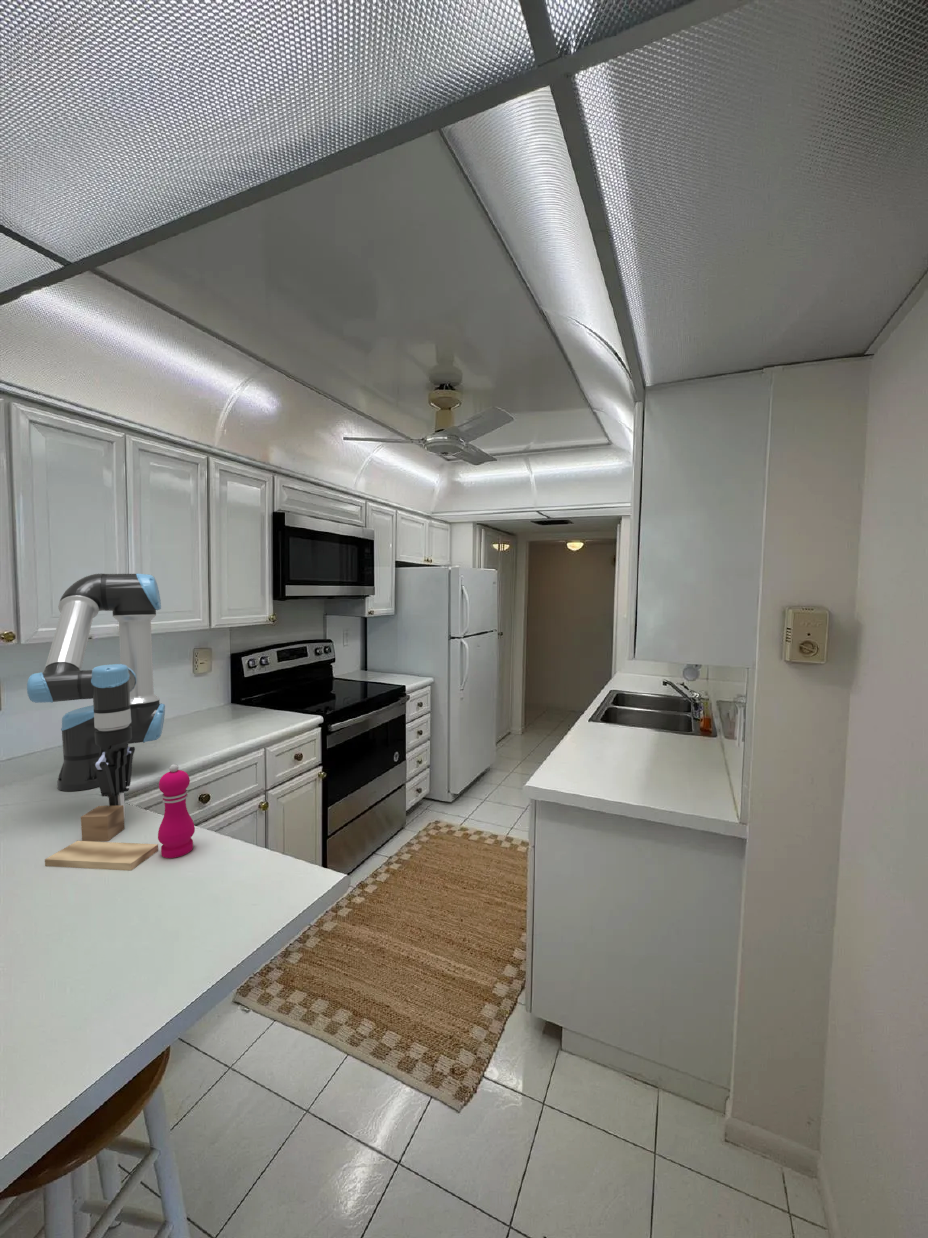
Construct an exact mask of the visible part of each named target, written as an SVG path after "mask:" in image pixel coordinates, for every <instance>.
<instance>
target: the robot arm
mask: <svg viewBox="0 0 928 1238" xmlns="http://www.w3.org/2000/svg"><path fill="white" fill-rule="evenodd" d="M161 600H162V599H161V594H160V590H159V585H158V583H157V579H156V578H155V576H153V575H152V574H146V573H95V574H94V573H93V574H90V575H89V574H88V575H86V576H84V577H81V578H80V579H78V580H76V581H75V582H74V583H72V584H71V585H70V586H69V587H68V588H67V589H66V590H65V591H64V592H63V594H62V595H61V597H60V600H59V602H58V611H59V612H60V615H59V617H58V621H57V626H56V628H55V632H54V635H53V639H52V642H51V645H50V648H49V649H50V650H49V651H48V652H49V653H48V656H47V659H46V662H45V665H44V668H43V672H42V671H41V672H36V673H31V674H30V676H29V677H28V679H27V683H26V691H27V696H28V699H29V700H30V702H32V703H35V704H36V703H38V704H41V703H42V704H43V703H45V704H46V703H50V704H51V703H55V702H56V703H57V702H65V701H66V702H68V701H77V700H78V701H79V700H91V699H92V704H93V705H89V706H88V705H87V706H83V707H80V708H77V709H73V710H70V711H68V712H66V713H65V714H64V715H63V716H62V717H61V728H60V730H61V734H62V735H61V738H62V741H61V742H62V752H63V753H62V755H63V763H62V766H61V769H60V771H59V775H58V778H57V781H56V782H57V785H56V786H57V789H58V790H59V791H63V792H77V791H85V790H91V789H94V788H98V787H99V790H100V791H99V792H100V794H101V797H108V806H116V805H123V807H124V819H126V808H125V800H126V799H125V793H126V792H127V793H128V792H129V790H130V788H129V787H130V786H131V781H132V780H131V779H132V771H133V770H132V769H133V761H134V759H133V758H134V754H135V750H136V748H135V746H129V745H130V744H137V743H138V744H140V743H143V744H144V743H146V742H147V743H148V742H152V741H158V740H159V739H160V738H161V736H162V733H163V729H164V724H165V714H166V704H165V703H161V702H160V698H159V696H157V694H155V693H154V692H155V691H154V670H153V669H154V668H153V666H154V665H153V647H152V646H153V645H152V644H153V643H152V640H153V639H152V620H153V619H154V618H155V617H156V616H157V611H159V610H161V609H162V602H161ZM103 611H105V612H106V611H107V612H109V611H110V612H111V611H112V617H113V618H114V619H115V620H116V621H117V622H118V633H119V658H120V659H119V662H120V663H114V664H102V665H98V666H95V667H93V668H92V669H83V670H82V667H83V664H84V663H83V662H84V658H85V655H86V650H87V644H88V641H89V637H90V632H91V629H92V624H93V623H92V622H93V619H94V618H95V617H97V616H98V614H99V613H100V612H103Z"/></svg>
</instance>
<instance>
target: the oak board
mask: <svg viewBox="0 0 928 1238" xmlns="http://www.w3.org/2000/svg"><path fill="white" fill-rule="evenodd" d="M157 852H159V844H158V843H134V842H118V841H117V842H112V841H94V842H93V841H82V840H76V841H74V842H73V843H71V844H69V845H68V846H66V847H64V848H62V849H61V850H58V851H57V852H55V853H53V854H52V855H50V856H48V857H47V858H45V859H44V866H45V867H56V868H57V867H58V868H75V869H77V868H78V869H95V870H98V869H99V870H116V871H117V870H118V871H132V870H134V869H135V868H137V867H138V866H140V865H141V864H142V863H144V862H145V861H147V860H148V859H149V858H150V857H152V856H154V855H155V854H156V853H157Z"/></svg>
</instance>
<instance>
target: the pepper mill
mask: <svg viewBox="0 0 928 1238" xmlns="http://www.w3.org/2000/svg"><path fill="white" fill-rule="evenodd" d="M168 769H169V771H168V772H166V773H164V774H163V775H162V776H161V777H160V779H159V782H158V788H159V791H160V792H161V793H162V795H161V798H162V799H161V801H162V803H164V814H163V818H162V820H161V823H160V824H159V827H158V832H157V840H158V841H159V843H160V844H161V847H160V856H161V857H162V858H164V859H174V858H180V857H182V856H185V855H187V854H188V853H190V852H191V851H192V850H193V849H194V840H193V839H192V837H193V836H194V835H195V831H196V828H195V823H194V820H193V819H192V817H191V815H190V813H189V811H188V807H187V798H188V796H189V795H188V793H189V792H188V790H187V788H189V786H190V783H191V780H190V779H191V778H190V776H189V774H188V773H187V772H186V771H184V770H181V769H179V766H178V765H177V764H171V765H170V766H169V768H168Z"/></svg>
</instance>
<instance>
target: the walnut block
mask: <svg viewBox="0 0 928 1238" xmlns="http://www.w3.org/2000/svg"><path fill="white" fill-rule="evenodd" d="M80 826H81V827H80V830H81V841H93V842H110V840H112V839H113V838H114V837H116V836H117V835H118V834H119V833H122V831H124V830H125V818H124V807H123V805H116V806H109V805H98V806H96V807H95V808H93V809H91V810H90V811H88V812H87V813H84V814H83V815H82V816H80Z"/></svg>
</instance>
